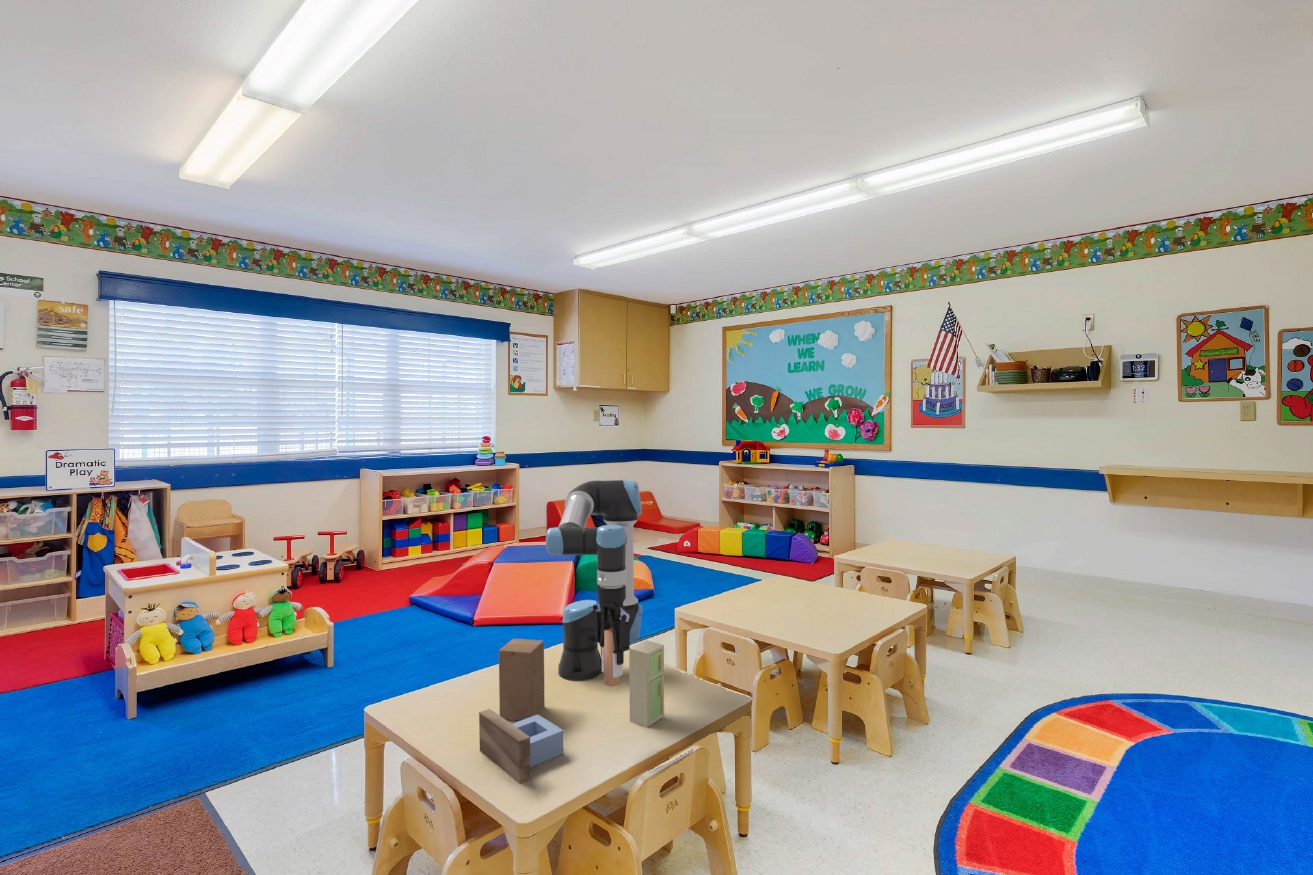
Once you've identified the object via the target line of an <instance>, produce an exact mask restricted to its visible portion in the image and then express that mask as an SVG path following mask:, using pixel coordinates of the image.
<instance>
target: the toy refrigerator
mask: <svg viewBox="0 0 1313 875" xmlns="http://www.w3.org/2000/svg"><path fill="white" fill-rule="evenodd" d="M628 654H629V655H628V656H629V660H628V661H629V663H628V664H629V671H628V672H629V721H630V722H632V723H635V724H637V725H639V726H643V727H645V728H649V727H650V726H652V725H653V724H655V723H657V722H658V721H661V719H663V718H664V717H665V645H664V644H661V643H657V642H653V641H649V640H644V641H642V642H639V643H637V644H636V645H633V646H630V649H629V650H628Z"/></svg>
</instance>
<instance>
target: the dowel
mask: <svg viewBox="0 0 1313 875" xmlns="http://www.w3.org/2000/svg"><path fill="white" fill-rule="evenodd" d="M613 651H615V647H614V640H613V632H612V628H609V629H605V630H604V658H605V672H604V685H605V686H607V687H616V686H619V685H620V684H621V676H618V677H615V678H614V677H613Z"/></svg>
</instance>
